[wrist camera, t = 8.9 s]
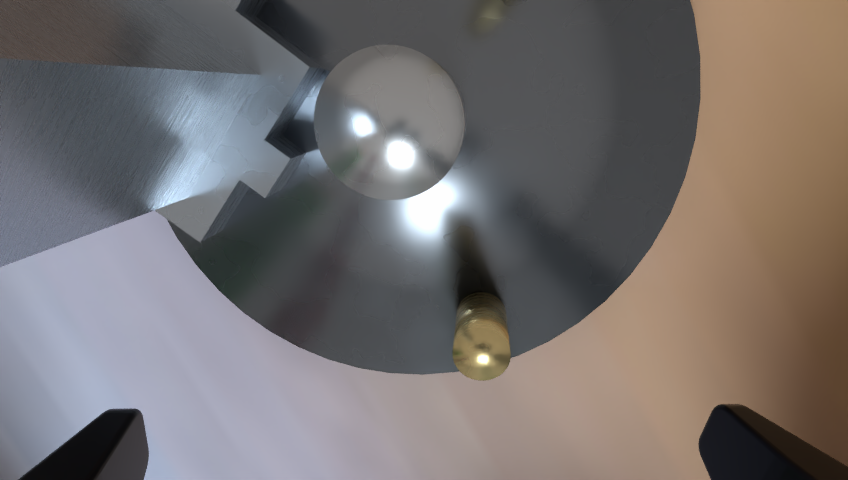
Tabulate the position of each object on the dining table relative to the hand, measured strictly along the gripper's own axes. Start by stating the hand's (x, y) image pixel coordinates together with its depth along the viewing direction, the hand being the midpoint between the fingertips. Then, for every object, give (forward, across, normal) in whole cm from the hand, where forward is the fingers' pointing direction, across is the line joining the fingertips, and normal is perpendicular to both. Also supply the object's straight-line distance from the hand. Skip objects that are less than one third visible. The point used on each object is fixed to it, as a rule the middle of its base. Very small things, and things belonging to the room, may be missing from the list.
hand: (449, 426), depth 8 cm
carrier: (+12, 0, -2) cm, 13 cm away
